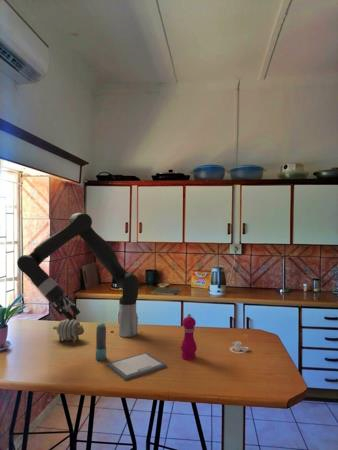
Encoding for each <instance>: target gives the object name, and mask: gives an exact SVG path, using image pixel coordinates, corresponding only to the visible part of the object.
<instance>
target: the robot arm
mask: <svg viewBox="0 0 338 450" xmlns="http://www.w3.org/2000/svg"><path fill="white" fill-rule="evenodd" d="M92 224H93V219H92V217H91V215H89V214H88V213H84V212H76V213H73V214H72V215H71V216H70V218H69V224H68V225H67V226H66V227H64V228H63V229H61V230H59V231H58V232H56V233H55V234H53V235H51V236H49V237H47V238H46V239H45V240H43V241H42V242H40V243H39V244H38V245H37V246H36V247H34V248H33V251H32V252H31V253H30V254H23V255H21V256H19V257H18V259H17V261H16V262H17V263H16V265H17V267H18V269H19V270H20V272H22V273H24V274H25V276H26V277H28V278H29V280H30V281H31V283H33V285H34V286H35V287H36V288H37V289H38V290H39V292H40V293H41V294H42V295H43V297H44V298H45V299H46V300H47V301H48V302H49V303H50V304H52V305H51V306H52V308H53V309H54V310H55V311H56V312H57V313H58V314H59V315H60V316H64V317H65V318H66V319H69V320H70V321H71V320H72V319H73V320H74V318H75V317H74V315H73V314H72V313H71V312H70V311H69V310H71V311H72V312H73V313H74V314H75V315H76V316H78V315H79V314H80V313H81V310H79V308H77V306H76V304H77V303H76V302H75V301H74V300H73V299H72V298H71V297H70V296H69V294H66V295H64V294H65V290H64V289H63V288H62V287H61V285H59V284H58V283H57V282H56V281H55V280H54V279H53V278H51V276H50V275H49V274H48V273H47V272H46V271H45V270H44V269H42V267H41V266H40V265H41V264H42V263H43V262H44V261H45V260H46V259H47V258H49V257H50V256H51V255H53V254H54V253H55V252H56V251H58V250H59V249H60V248H62V247H63V246H64V245H65V244H67V243H68V242H69V241H71V240H72V239H74V238H76V237H77V236H78V237H80V238H81V239H82V240H83V241H84V243H85V244H86V245H87V247H88V248H89V249H90V252H92V254H93V255H94V256H95V258H96V259H97V261H99V262H100V264H101V265H102V266H103V267H104V268H105V269H106V271H108V272H109V274H110V275H111V276H112V279H113V280H114V281H115V283H116V285H117V286H118V287H119V288H120V289H121V290H122V296H121V297H119V299H118V300H119V302H118V303H119V305H118V307H119V308H118V309H119V310H118V314H119V315H118V316H119V318H118V336H119V337H121V338H131V337H135V336H136V335H138V333H139V332H138V331H139V330H138V327H139V326H138V323H139V321H138V319H139V317H138V316H137V299H138V298H139V278H138V277H137V276H136V275H134V274H133V273H129V272H127V271H126V270H125V268H124V267H123V266H122V265H121V263H120V261H119V259H118V256H117V254H116V252H115V251H114V249H113V247H112V246H111V245H110V243H108V241H106V239H104V238H103V237H102V236H101V235H99V234H98V233H97V232H96V231H95V230H94V228H93V227H92ZM68 309H69V310H68Z"/></svg>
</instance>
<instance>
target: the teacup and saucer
mask: <svg viewBox="0 0 338 450" xmlns="http://www.w3.org/2000/svg"><path fill="white" fill-rule="evenodd" d="M231 344H232V345H231V347H229V351H230V352H232V353H234V354H245V353H247V352H248V351H249V350H250V348H249V347H248V346H243V347H242V342H241V341H238V340H237V341H234V342H232V343H231ZM234 350H235V351H234Z"/></svg>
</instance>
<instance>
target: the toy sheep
mask: <svg viewBox="0 0 338 450" xmlns="http://www.w3.org/2000/svg"><path fill="white" fill-rule="evenodd" d="M52 329H53V330H56V333H57V335H58V341H59V342H60V343H61V342H62V340H65V341H70V340H71V341H72V343H73V344H75V343H76V341H79V338H80V337H79V336H81V335H83V334H84V333H85V328H84V327H83V324H82V325H81V323H80V321H78V320H76V319H74V318H73V319H72V320H71V321H70V320H69V319H68V318H66V319H62V320H60V321H59V323H58V324H57V326H53V327H52Z"/></svg>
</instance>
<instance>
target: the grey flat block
mask: <svg viewBox="0 0 338 450" xmlns="http://www.w3.org/2000/svg"><path fill="white" fill-rule="evenodd" d="M106 366H107V367H108V368H109V369H111V370H112V371H113V372H114V373H115V374H117V375H118V376H119V377H121V379H123V380H124V381H125V382H126V381H128V380H131V379H134V378H138V377H141V376H143V375H144V376H145V375H147V374H150V373H153V372H156V371H159V370H162V369H165V368H168V367H167V366H168V365H167V364H166V363H165V362H163V361H161V360H159V359H158V358H157V357H154V356H153V355H151V354H150V353H149V352H147V351H145V352H143V353H138V354H134V355H131V356H128V357H125V358H120V359H117V360H113V361H109V362H107V363H106Z"/></svg>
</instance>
